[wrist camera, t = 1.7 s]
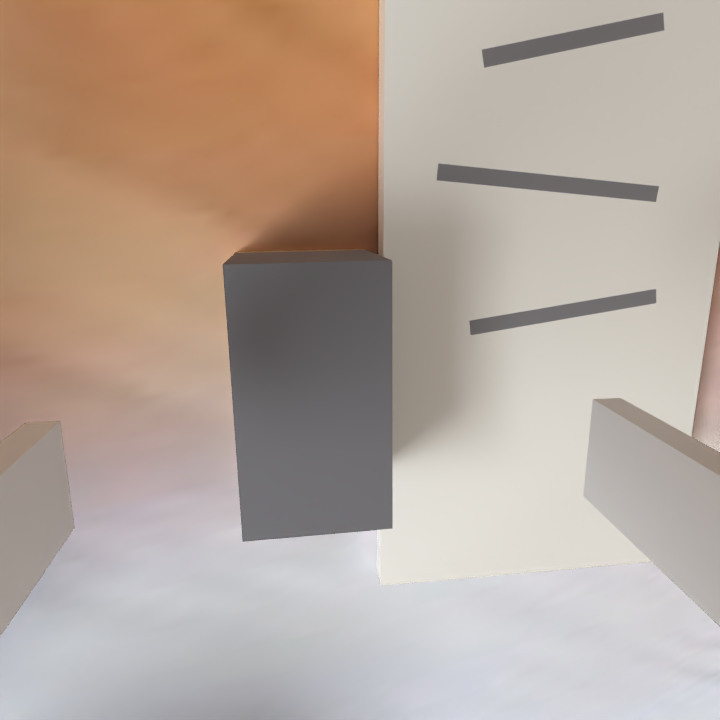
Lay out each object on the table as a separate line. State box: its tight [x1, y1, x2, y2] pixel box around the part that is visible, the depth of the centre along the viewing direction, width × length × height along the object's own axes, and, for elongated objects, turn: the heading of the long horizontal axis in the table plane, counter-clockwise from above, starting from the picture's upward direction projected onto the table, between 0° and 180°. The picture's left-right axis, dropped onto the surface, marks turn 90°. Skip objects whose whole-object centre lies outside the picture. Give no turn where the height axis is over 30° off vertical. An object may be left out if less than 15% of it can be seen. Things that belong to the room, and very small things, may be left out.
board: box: [377, 0, 720, 586], centre depth 23 cm, size 14×32×1 cm, turn 0°
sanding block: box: [223, 249, 393, 541], centre depth 21 cm, size 5×9×6 cm, turn 1°
